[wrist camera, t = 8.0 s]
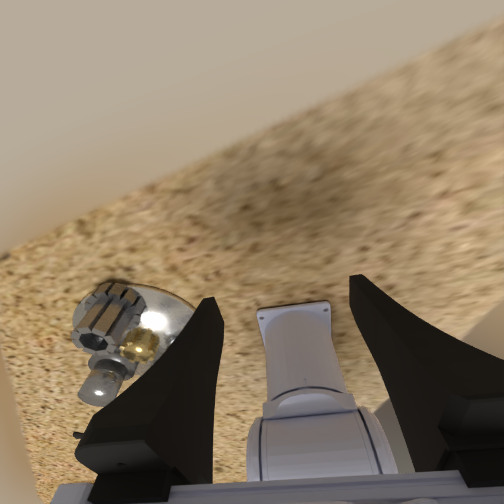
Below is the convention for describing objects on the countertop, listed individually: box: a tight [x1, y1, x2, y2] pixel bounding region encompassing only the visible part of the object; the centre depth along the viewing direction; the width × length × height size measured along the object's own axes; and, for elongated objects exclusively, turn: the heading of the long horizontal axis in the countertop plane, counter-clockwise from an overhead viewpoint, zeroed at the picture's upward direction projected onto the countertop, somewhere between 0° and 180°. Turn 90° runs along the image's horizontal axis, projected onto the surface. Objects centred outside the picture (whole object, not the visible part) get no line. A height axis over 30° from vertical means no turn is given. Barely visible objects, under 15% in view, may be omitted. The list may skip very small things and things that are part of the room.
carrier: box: [73, 284, 196, 407], centre depth 27 cm, size 16×16×6 cm
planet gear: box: [70, 282, 146, 356], centre depth 24 cm, size 6×6×5 cm
